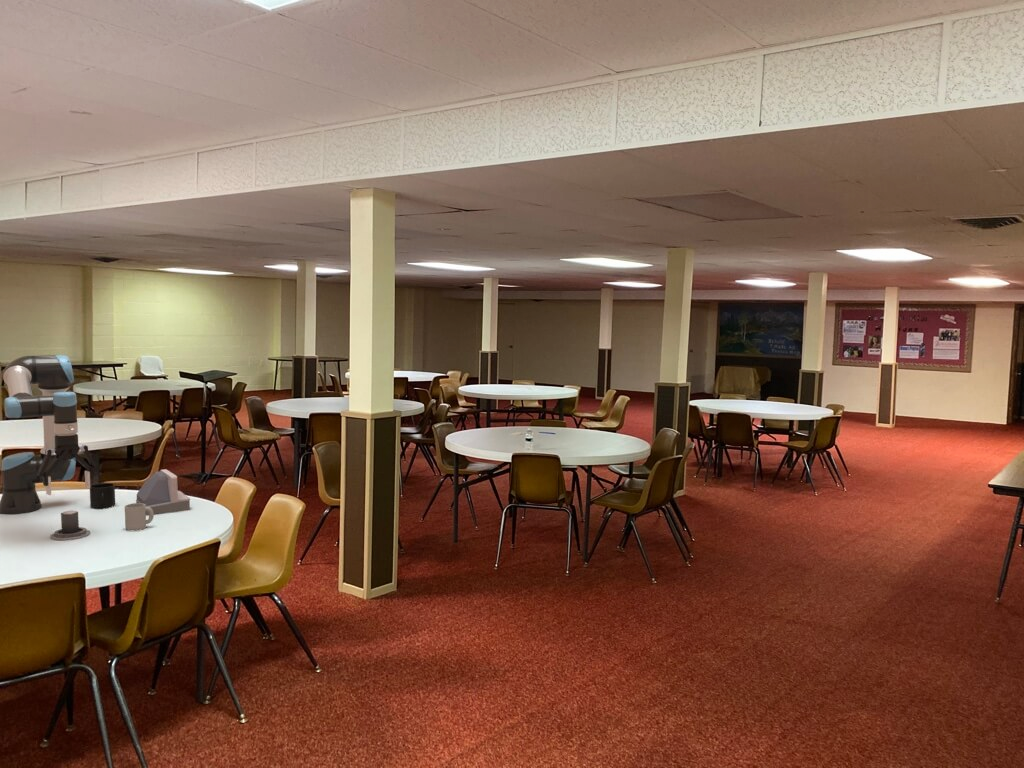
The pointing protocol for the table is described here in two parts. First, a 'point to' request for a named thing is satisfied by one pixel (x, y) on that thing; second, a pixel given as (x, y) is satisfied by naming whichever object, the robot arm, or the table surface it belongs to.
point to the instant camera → (162, 494)
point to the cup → (137, 516)
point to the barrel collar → (59, 536)
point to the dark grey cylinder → (69, 522)
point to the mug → (102, 495)
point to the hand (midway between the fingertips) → (68, 491)
